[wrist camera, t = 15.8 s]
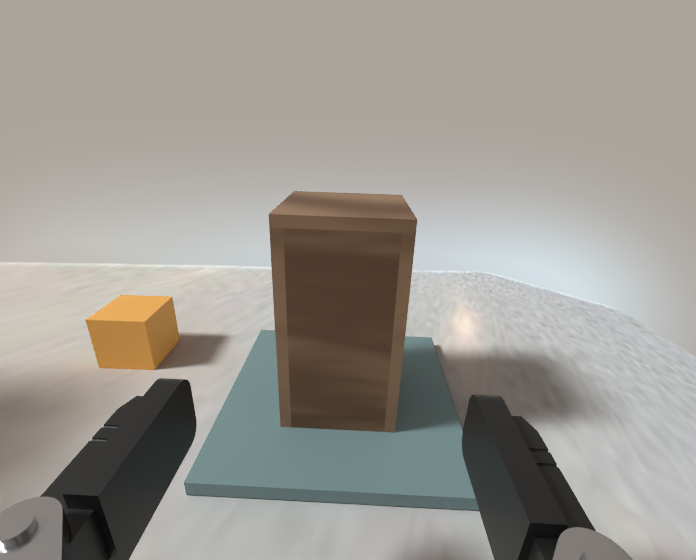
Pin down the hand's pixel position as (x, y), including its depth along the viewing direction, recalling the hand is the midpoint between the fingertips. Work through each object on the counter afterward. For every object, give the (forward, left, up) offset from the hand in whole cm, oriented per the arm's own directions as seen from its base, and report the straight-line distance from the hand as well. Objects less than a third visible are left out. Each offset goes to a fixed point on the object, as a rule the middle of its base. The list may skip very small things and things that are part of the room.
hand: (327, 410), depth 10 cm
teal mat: (-7, -7, -9) cm, 14 cm away
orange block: (+1, -21, -9) cm, 23 cm away
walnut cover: (-7, -7, -8) cm, 13 cm away
